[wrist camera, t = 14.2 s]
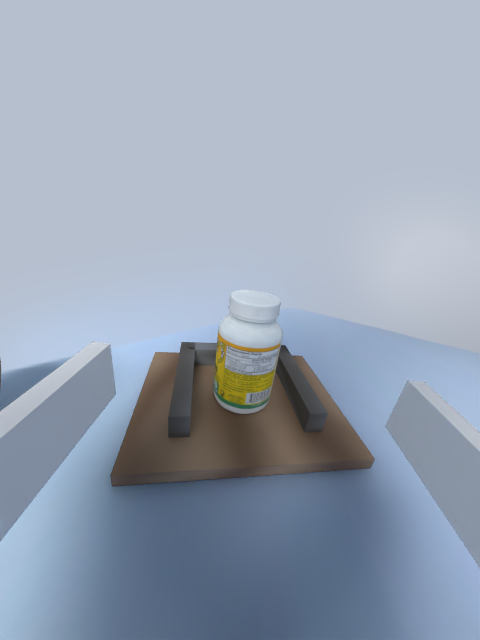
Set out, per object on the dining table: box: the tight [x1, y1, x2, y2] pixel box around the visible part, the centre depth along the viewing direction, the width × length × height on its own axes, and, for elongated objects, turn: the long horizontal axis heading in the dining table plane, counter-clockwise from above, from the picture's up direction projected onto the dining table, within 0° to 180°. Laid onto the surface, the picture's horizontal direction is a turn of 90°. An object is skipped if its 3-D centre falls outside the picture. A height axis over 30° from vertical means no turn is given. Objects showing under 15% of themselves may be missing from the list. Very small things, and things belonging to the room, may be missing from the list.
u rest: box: [111, 342, 375, 486], centre depth 22 cm, size 18×14×3 cm
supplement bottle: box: [213, 290, 283, 414], centre depth 20 cm, size 5×5×10 cm
